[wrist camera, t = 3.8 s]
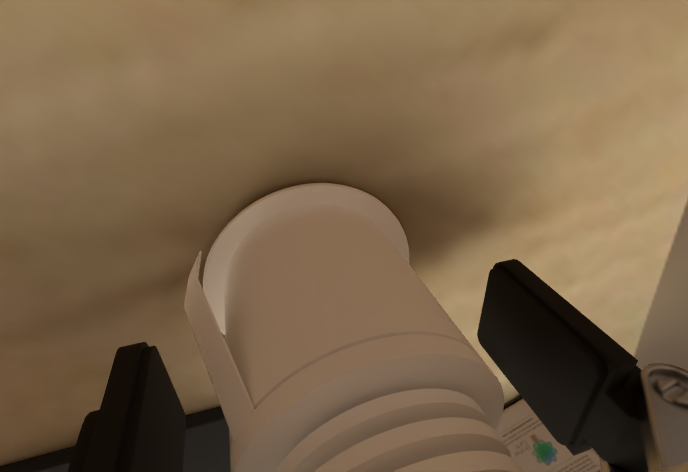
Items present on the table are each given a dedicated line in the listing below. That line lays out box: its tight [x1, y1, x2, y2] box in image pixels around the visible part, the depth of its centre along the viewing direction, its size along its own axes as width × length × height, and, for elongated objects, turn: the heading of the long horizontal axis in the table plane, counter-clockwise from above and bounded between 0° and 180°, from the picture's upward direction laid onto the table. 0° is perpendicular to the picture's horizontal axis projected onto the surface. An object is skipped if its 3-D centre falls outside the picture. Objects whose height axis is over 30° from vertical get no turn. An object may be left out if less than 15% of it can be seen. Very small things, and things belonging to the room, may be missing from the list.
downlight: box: [184, 183, 523, 472], centre depth 9 cm, size 8×7×10 cm
